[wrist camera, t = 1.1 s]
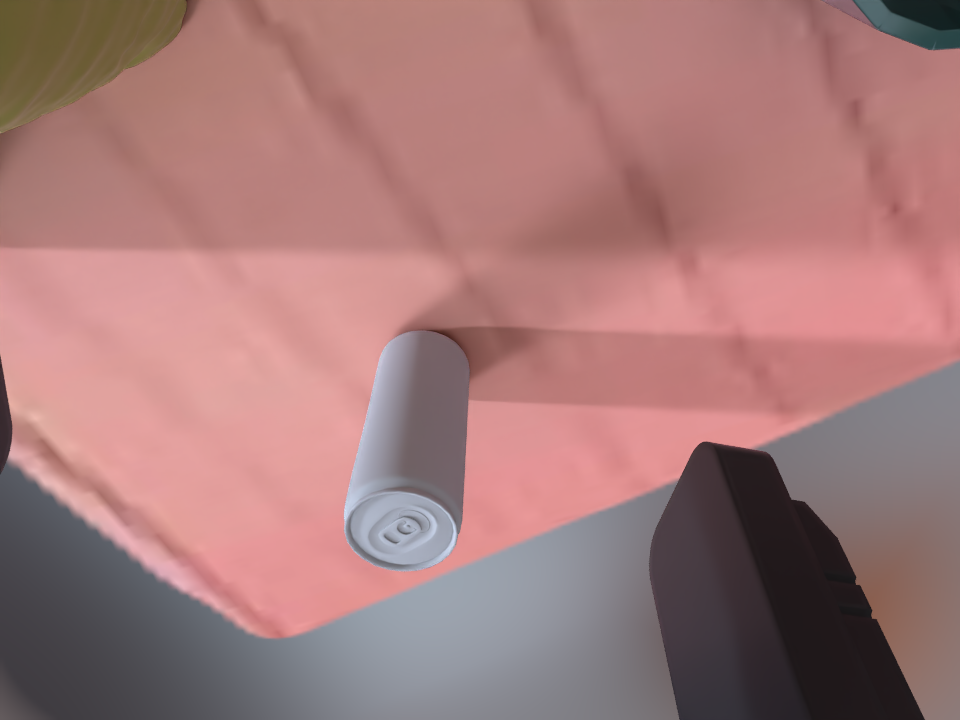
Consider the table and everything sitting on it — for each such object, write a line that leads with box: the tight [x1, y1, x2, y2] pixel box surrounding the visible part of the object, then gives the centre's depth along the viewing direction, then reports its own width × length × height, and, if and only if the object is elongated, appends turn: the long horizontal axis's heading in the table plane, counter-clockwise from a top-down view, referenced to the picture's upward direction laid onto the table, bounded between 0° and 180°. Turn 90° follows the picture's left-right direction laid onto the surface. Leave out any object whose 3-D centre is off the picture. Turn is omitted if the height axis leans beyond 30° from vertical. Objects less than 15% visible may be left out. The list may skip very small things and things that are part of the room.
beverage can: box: [344, 330, 470, 571], centre depth 36 cm, size 5×5×12 cm
